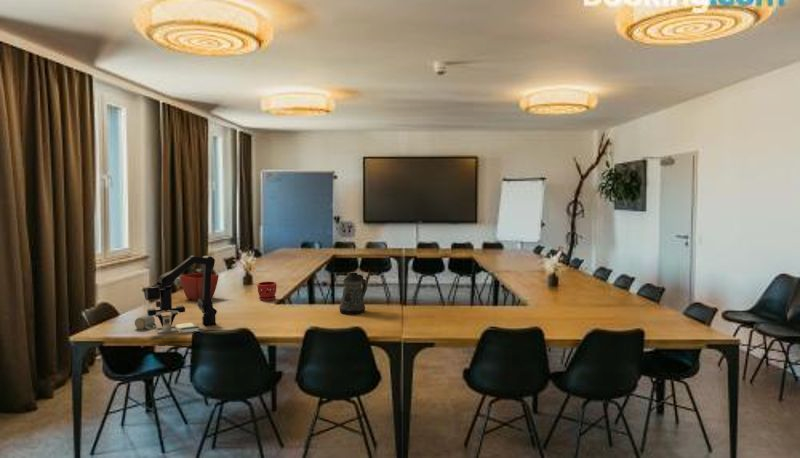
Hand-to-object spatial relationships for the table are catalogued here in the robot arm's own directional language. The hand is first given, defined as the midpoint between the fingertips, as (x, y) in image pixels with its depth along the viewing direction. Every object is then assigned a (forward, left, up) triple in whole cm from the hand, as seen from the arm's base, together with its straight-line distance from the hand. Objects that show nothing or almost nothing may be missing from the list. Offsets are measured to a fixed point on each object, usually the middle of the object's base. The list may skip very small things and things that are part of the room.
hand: (166, 326), depth 296 cm
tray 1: (0, 0, -3) cm, 3 cm away
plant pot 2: (-73, -56, -3) cm, 92 cm away
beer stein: (-109, +8, -3) cm, 110 cm away
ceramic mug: (+9, -13, -3) cm, 16 cm away
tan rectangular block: (0, 0, -2) cm, 2 cm away
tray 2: (-11, +6, -3) cm, 14 cm away
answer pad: (-10, -7, -3) cm, 13 cm away
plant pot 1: (-33, -84, -3) cm, 90 cm away
